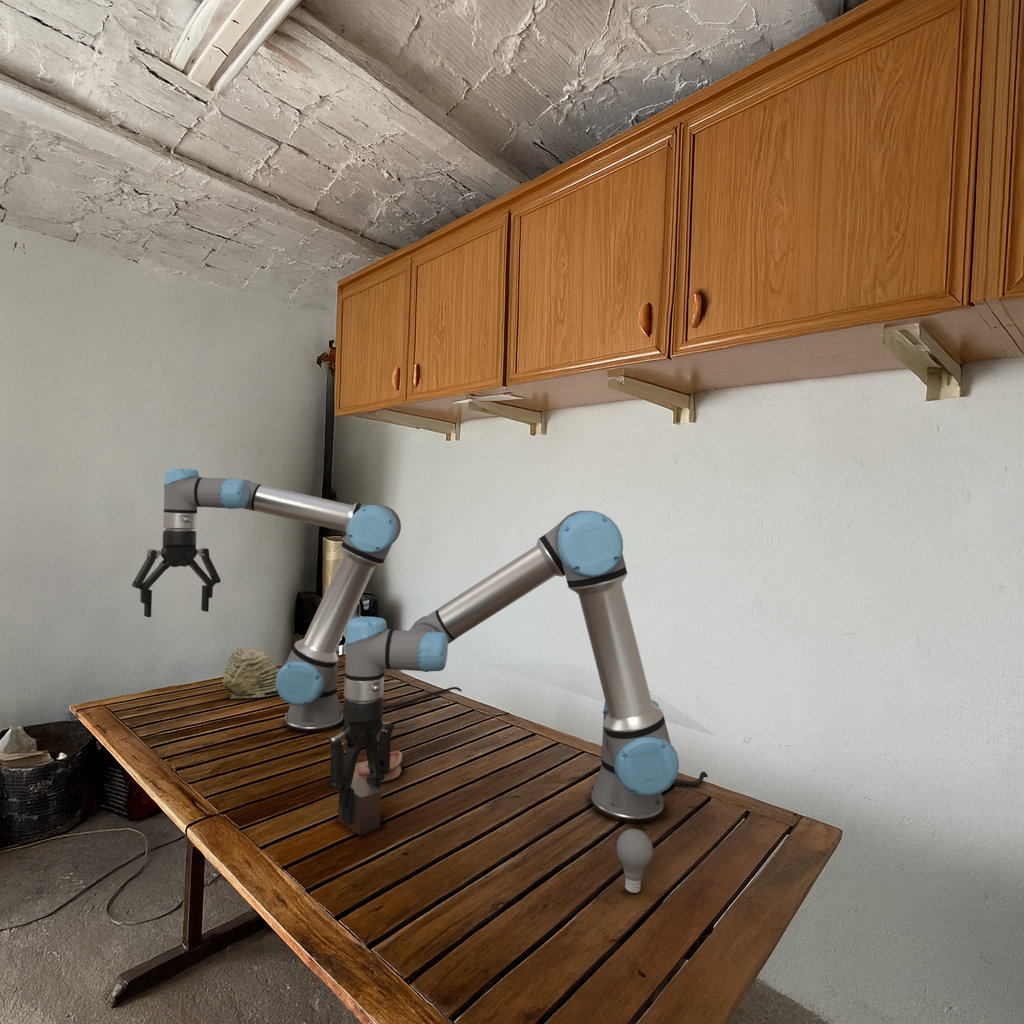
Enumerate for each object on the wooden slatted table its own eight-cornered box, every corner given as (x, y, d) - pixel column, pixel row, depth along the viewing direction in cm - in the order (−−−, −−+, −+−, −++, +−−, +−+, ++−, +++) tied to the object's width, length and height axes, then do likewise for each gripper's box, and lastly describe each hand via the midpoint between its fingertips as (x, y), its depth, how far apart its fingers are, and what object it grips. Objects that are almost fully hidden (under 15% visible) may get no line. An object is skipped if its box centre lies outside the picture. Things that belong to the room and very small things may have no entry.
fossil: (218, 695, 195) (220, 647, 195) (278, 685, 208) (279, 640, 207) (228, 703, 189) (230, 653, 188) (289, 692, 201) (290, 645, 201)
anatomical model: (332, 762, 141) (355, 743, 152) (332, 780, 141) (355, 759, 153) (388, 770, 139) (407, 750, 150) (388, 788, 139) (407, 766, 150)
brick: (337, 820, 124) (338, 783, 124) (357, 812, 128) (359, 776, 128) (359, 835, 119) (361, 797, 119) (380, 827, 123) (381, 789, 122)
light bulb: (610, 879, 108) (613, 822, 108) (644, 879, 109) (647, 822, 109) (619, 902, 102) (622, 840, 102) (655, 901, 103) (658, 840, 103)
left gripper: (129, 531, 148) (126, 621, 148) (235, 530, 166) (232, 610, 167) (119, 529, 153) (116, 616, 154) (223, 528, 172) (220, 606, 172)
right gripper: (334, 712, 114) (329, 840, 114) (412, 693, 127) (407, 808, 127) (312, 702, 119) (307, 825, 119) (389, 684, 132) (385, 795, 132)
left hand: (177, 613), depth 160 cm, fingers open, 13 cm apart
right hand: (359, 816), depth 123 cm, fingers closed on brick, 5 cm apart
